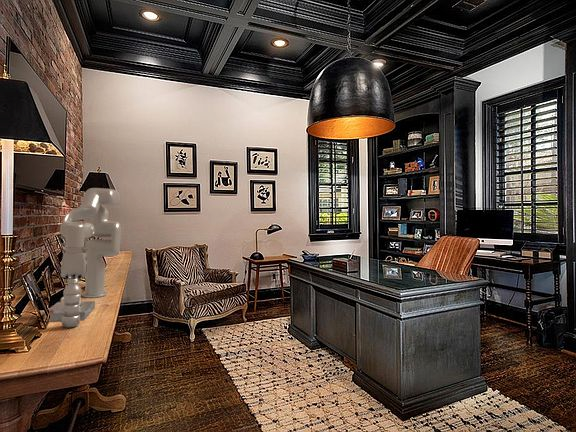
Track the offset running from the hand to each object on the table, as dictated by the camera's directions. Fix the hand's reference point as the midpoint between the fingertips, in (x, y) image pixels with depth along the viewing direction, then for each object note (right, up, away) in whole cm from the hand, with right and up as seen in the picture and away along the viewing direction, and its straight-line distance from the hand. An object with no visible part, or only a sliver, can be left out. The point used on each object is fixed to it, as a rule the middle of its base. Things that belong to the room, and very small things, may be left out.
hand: (73, 289), depth 167 cm
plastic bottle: (+11, -12, -20) cm, 25 cm away
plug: (0, -11, -2) cm, 11 cm away
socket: (0, -11, -3) cm, 11 cm away
